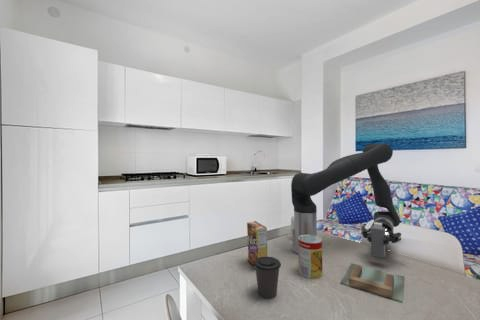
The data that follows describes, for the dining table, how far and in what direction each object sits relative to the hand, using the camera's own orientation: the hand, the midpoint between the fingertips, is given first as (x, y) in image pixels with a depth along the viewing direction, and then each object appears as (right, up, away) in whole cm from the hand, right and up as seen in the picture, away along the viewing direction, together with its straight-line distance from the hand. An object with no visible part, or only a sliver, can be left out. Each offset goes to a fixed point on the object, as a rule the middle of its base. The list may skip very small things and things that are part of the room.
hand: (377, 240), depth 81 cm
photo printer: (-19, -10, +31) cm, 38 cm away
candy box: (-43, -11, +3) cm, 44 cm away
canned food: (-25, -10, -3) cm, 27 cm away
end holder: (-6, -10, -7) cm, 14 cm away
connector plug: (+2, -6, +2) cm, 7 cm away
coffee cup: (-41, -11, -14) cm, 45 cm away
